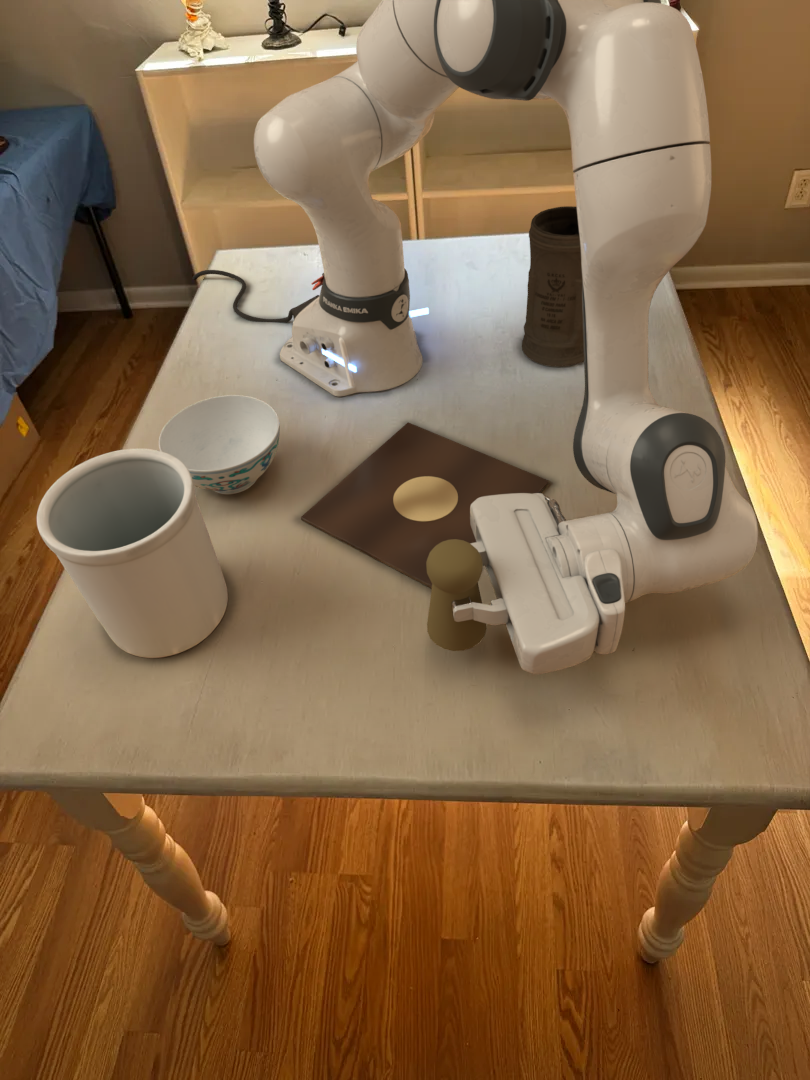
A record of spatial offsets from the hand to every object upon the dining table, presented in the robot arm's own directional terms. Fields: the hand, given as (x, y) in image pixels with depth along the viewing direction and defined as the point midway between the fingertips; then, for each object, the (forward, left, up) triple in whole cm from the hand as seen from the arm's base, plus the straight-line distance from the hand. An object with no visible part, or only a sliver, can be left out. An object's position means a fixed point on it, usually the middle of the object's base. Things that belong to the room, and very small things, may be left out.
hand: (446, 590), depth 74 cm
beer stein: (-19, +57, -10) cm, 61 cm away
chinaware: (-39, +7, -10) cm, 41 cm away
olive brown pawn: (+1, +1, -6) cm, 6 cm away
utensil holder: (-29, -13, -10) cm, 34 cm away
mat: (-15, +17, -10) cm, 25 cm away
